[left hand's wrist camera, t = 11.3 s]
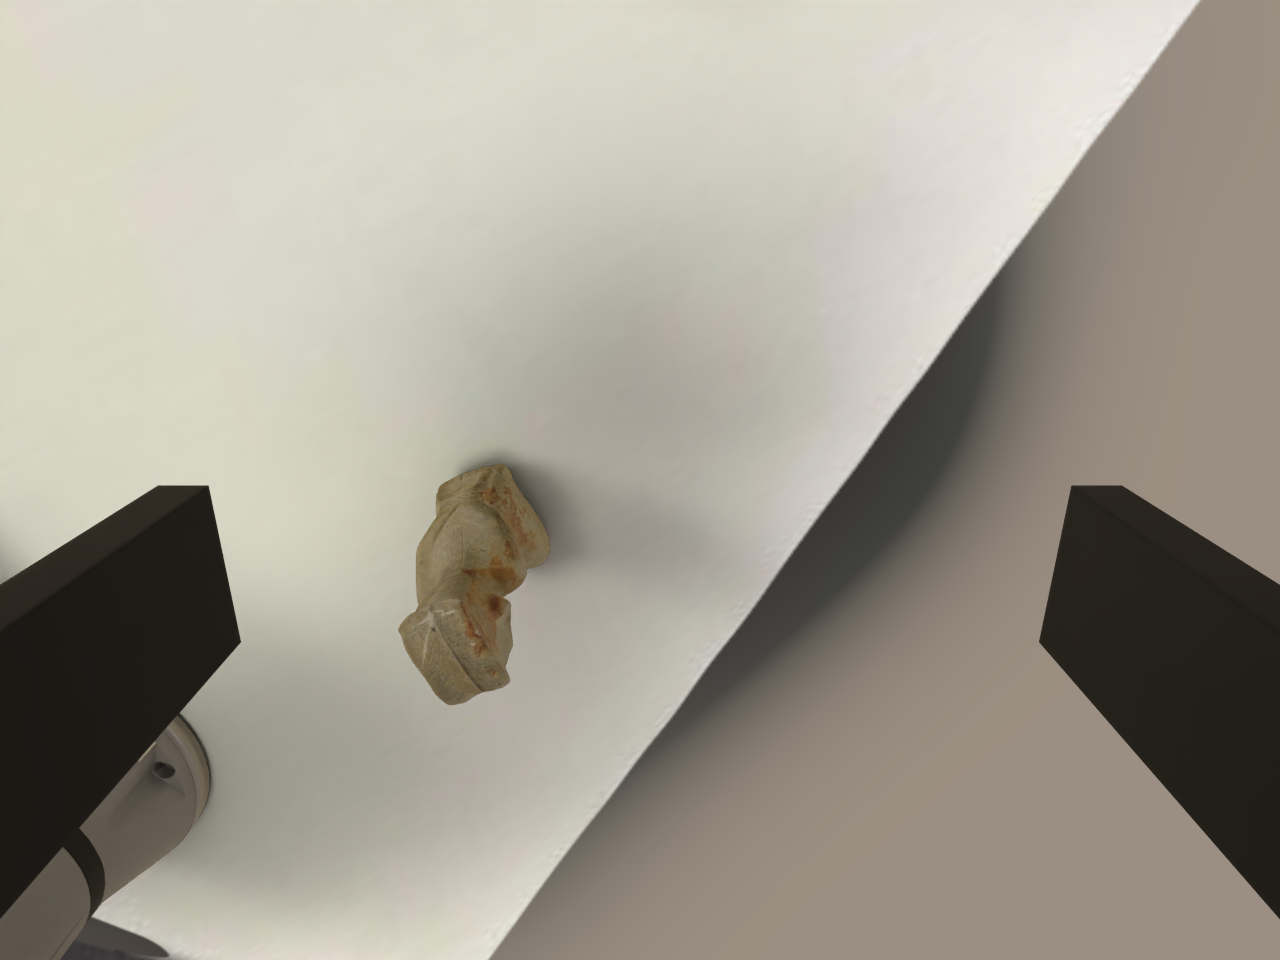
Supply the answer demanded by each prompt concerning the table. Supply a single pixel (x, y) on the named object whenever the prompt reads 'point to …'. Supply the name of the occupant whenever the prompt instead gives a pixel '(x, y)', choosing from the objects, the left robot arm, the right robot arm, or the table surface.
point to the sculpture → (471, 582)
